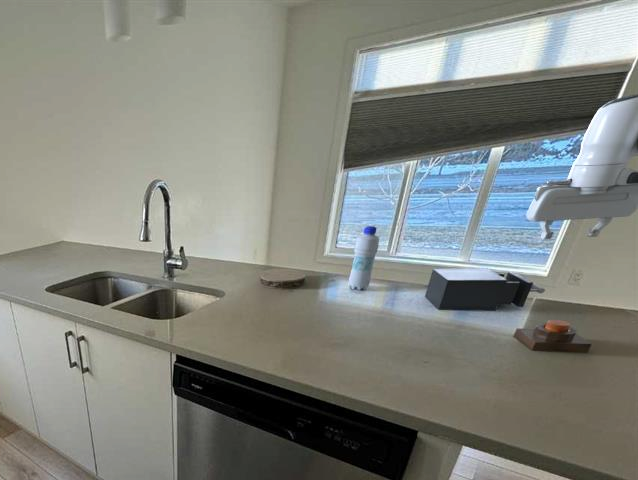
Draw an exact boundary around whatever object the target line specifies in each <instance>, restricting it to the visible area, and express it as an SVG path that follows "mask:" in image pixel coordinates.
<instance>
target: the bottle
mask: <svg viewBox="0 0 638 480" xmlns="http://www.w3.org/2000/svg"><path fill="white" fill-rule="evenodd" d="M376 233H377V227H376V226H375V225H374V226H372V225H368V226H365V228H364V229H363V233H362V234H361V235H359V236H358V237H357V240H356V242H355V245H354V250H353V252H354V255H353V256H354V257H353V262H352V267H351V271H350V275H349V278H348V283H347V284H348V288H349V289H352V290H353V291H355V290H356V288H357V291H361V290H363V291H365V290H367V288H368V287H369V286H370V283H371V279H372V272H373V271H372V270H373V267H374V263H375V260H376V259H375V258H376V254H377V253H378V250H379V247H380V246H379V243H380V237H379V236H378V235H376Z"/></svg>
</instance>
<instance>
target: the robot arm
mask: <svg viewBox="0 0 638 480" xmlns="http://www.w3.org/2000/svg"><path fill="white" fill-rule="evenodd" d="M580 146H581V147H580V153H579V155H578V156H577V158H576V159H575V161H574V162H573V164H572V167H571V169H570V172H569V175H568V177H567V179H558V180H548V181H546V182H544V183H542V184H541V185H540V186H538V187H537V189H536V191H535V194H534V198H533V199H532V202H531V203H530V205H529V207H528V209H527V211H526V214H525V217H526V219H527V220H528V221H530V222H536V223H537V222H540V223H539V226H540V229H541V231H542V232H541V234H540V239H542V240H551V239H552V238H553V235H554V232H555V231H552V230H551V228H550V226H552V225H553V223H554V221H571V220H589V219H597V224H595V225H594V226H593V227H592V228H588V229H587V232H586V234H585V236H586V237H587V238H597V237H598V236H599V235H600V232H601V230H602V231H603V229H604V228H605V227H606V226H608V225H609V224H611V222H612V220H613V218H625V217H626V218H627V217H630V216H631V215H633V214H634V213H635V212H636V211H637V210H638V170H636V169H632V168H627V165H628V163H629V161H630V159H632V158H634V157H638V93H635V94H630V95H626V96H622V97H619V98H616V99H612V100H610V101H607V103H605V104H604V105H602V106H601V107H600V108H599V109H598V110H597V111H596V113H595V114H594V116H593V118H592V120H591V122H590V124H589V125H588V128H587V130H586V132H585V134H584V136H583V139H582V141H581V145H580Z"/></svg>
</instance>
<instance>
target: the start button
mask: <svg viewBox="0 0 638 480" xmlns="http://www.w3.org/2000/svg"><path fill="white" fill-rule="evenodd" d="M546 323H547V324H546V326H545V329H547V330H550V331H555V332H567V330H568V328H569V327H571V323H569V322H568V321H564V320H561V319H560V320H559V319H549V320H547V322H546Z"/></svg>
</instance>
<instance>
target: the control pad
mask: <svg viewBox="0 0 638 480" xmlns="http://www.w3.org/2000/svg"><path fill="white" fill-rule="evenodd" d="M546 324H547V322H542V323H537V324H536V326H535V328H516V329H515V331H514V333H513V338H514V339H516V340H517V341H519V342H520V343H521V344H522V345H524V347H526V348H528V349H529V350H530V351H532V352H533V351H534V352H555V353H556V352H558V353H559V352H560V353H561V352H562V353H585V354H587V353H588V352H589V350H590V349H591V347H592V343H591V342H589V341H588V340H586V339H584V338H583V337H581V336H580V335H578V334H577V330H576V329H575V328H573V327H572V326H569V328H568V330H567V332H555V331H550V330H547V329H545V326H546Z"/></svg>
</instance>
